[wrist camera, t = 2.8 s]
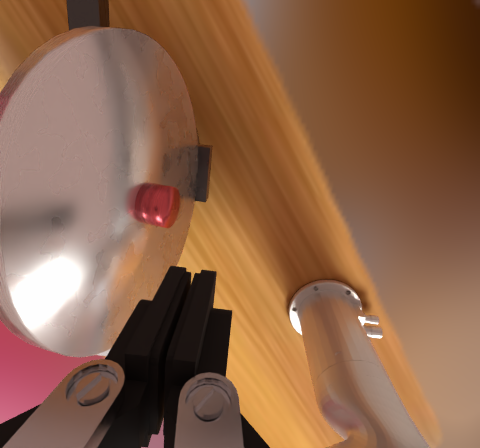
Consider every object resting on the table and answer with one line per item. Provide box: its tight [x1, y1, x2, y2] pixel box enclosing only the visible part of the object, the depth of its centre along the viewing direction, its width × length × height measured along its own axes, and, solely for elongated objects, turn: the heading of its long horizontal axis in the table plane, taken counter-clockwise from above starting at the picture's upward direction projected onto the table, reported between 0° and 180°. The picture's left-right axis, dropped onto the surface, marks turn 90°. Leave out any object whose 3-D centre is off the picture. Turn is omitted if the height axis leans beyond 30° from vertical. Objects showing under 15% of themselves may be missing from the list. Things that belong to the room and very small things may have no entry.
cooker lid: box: [0, 26, 198, 357], centre depth 21 cm, size 21×21×4 cm
